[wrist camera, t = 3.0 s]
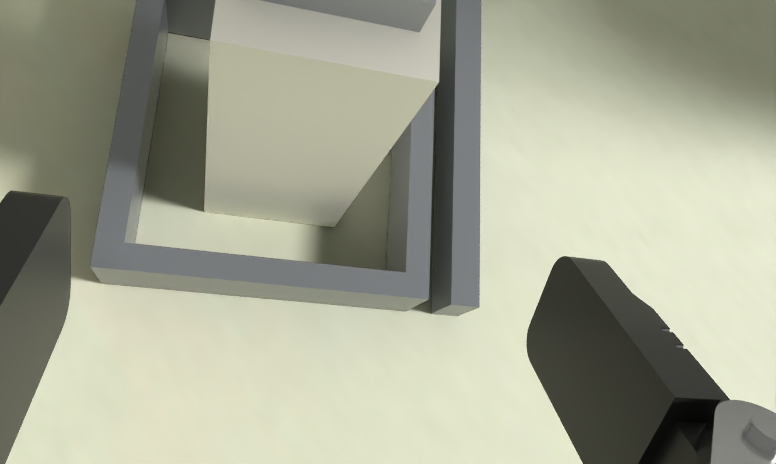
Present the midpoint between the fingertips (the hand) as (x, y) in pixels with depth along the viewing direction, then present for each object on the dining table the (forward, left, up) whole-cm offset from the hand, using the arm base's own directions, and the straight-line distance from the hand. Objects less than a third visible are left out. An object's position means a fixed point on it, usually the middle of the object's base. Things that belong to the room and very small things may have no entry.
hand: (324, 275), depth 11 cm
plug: (-4, -5, -12) cm, 13 cm away
